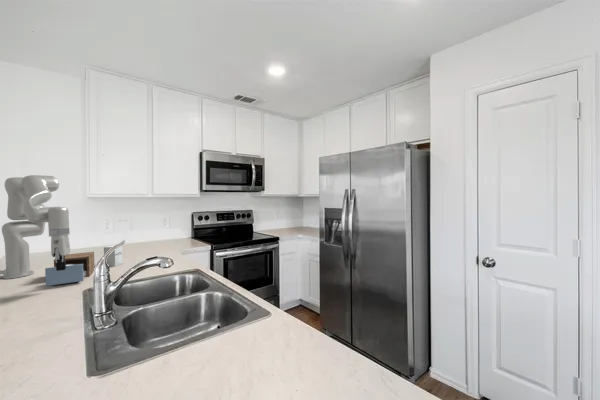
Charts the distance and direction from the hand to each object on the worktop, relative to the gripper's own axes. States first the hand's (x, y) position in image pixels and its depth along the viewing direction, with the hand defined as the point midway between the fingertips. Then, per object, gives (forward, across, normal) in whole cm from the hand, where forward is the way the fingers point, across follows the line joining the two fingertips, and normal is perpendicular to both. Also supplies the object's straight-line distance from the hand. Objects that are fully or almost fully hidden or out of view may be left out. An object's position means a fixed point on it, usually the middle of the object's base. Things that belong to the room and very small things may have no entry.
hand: (61, 269), depth 130 cm
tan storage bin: (+9, +26, 0) cm, 28 cm away
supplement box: (+9, +42, -16) cm, 46 cm away
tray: (+8, +13, 0) cm, 15 cm away
